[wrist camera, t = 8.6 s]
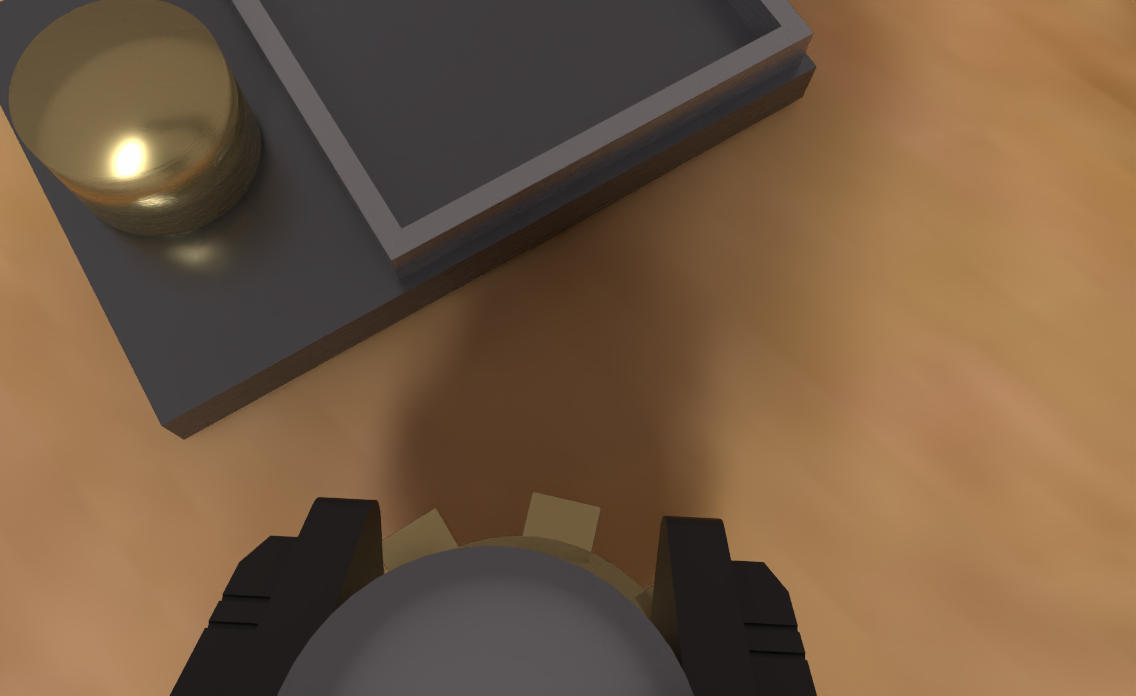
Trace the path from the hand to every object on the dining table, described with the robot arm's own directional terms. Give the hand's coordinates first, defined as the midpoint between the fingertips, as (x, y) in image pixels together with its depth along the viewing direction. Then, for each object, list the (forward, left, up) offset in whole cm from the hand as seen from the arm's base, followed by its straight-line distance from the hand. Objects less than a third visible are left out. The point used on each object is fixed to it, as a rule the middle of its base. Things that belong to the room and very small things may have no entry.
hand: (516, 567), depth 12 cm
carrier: (-4, -12, -7) cm, 14 cm away
